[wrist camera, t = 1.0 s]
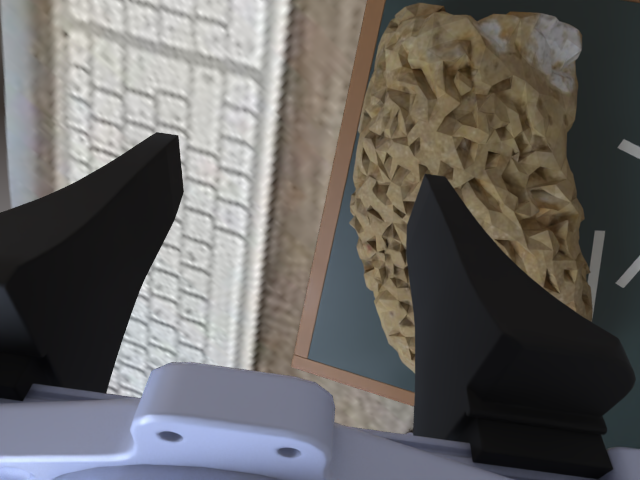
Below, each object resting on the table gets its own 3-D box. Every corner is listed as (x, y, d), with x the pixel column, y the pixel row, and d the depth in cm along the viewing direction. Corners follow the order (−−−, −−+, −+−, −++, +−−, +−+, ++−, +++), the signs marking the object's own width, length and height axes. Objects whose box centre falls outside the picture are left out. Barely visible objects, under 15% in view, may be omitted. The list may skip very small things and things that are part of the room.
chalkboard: (704, 496, 28) (708, 501, 27) (292, 364, 32) (290, 367, 32) (963, 28, 20) (973, 26, 20) (380, -57, 25) (379, -59, 25)
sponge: (368, 40, 27) (322, 376, 28) (381, -30, 19) (317, 439, 20) (597, 69, 27) (540, 408, 28) (705, 10, 19) (620, 484, 20)
